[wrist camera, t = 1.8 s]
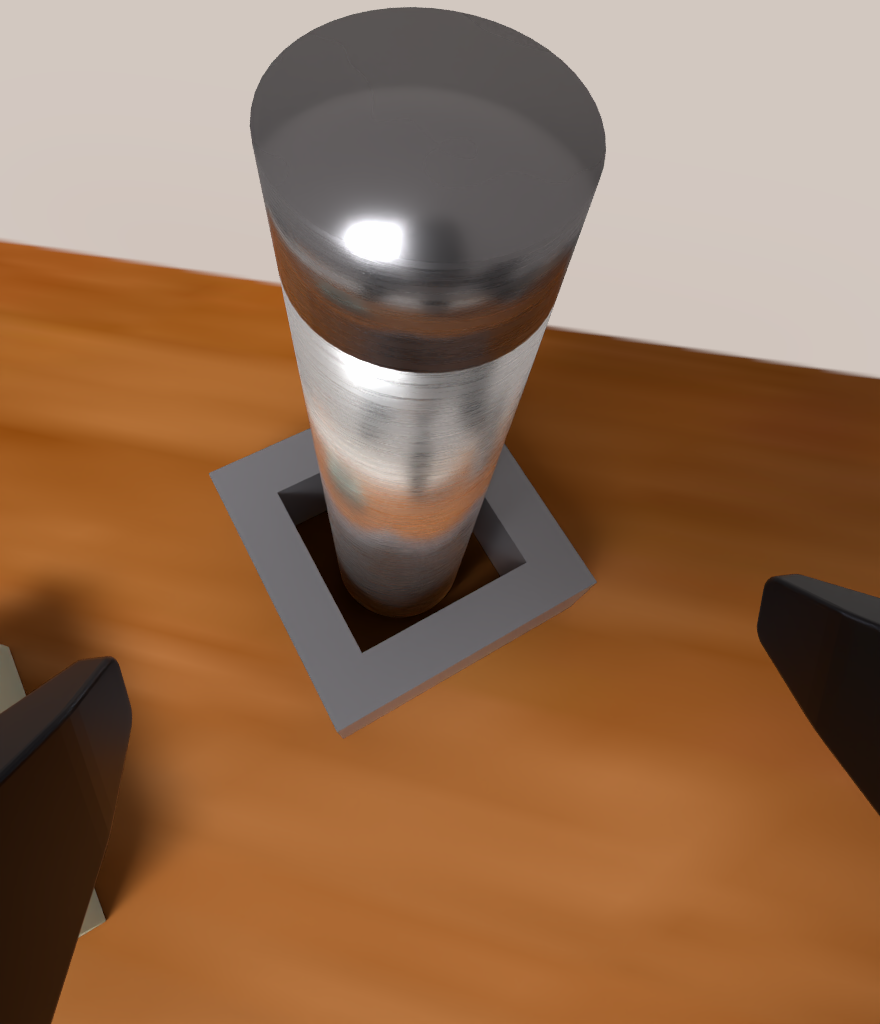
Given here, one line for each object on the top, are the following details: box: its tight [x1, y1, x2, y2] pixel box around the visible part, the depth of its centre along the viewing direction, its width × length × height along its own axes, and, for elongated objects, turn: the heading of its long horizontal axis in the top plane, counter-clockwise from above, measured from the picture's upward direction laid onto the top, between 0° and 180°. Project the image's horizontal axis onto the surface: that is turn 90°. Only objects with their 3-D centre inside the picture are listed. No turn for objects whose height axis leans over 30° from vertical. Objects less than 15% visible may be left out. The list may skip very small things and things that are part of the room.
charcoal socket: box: [209, 428, 597, 739], centre depth 21 cm, size 8×8×3 cm
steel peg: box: [250, 7, 606, 618], centre depth 15 cm, size 4×4×16 cm
